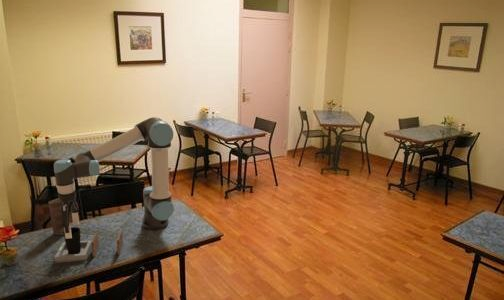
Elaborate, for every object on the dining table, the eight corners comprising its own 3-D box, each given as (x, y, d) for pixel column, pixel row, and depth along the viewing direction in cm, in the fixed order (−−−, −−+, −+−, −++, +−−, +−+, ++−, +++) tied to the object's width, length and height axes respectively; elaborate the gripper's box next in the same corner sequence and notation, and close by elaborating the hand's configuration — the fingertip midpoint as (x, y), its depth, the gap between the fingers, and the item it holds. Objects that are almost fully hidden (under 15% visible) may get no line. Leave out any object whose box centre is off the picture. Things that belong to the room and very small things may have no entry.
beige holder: (122, 244, 198) (121, 230, 195) (120, 254, 188) (118, 240, 186) (97, 246, 195) (95, 232, 193) (92, 256, 186) (91, 242, 184)
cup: (76, 257, 183) (73, 235, 180) (62, 255, 185) (59, 233, 181) (86, 249, 191) (83, 228, 187) (72, 247, 192) (70, 226, 189)
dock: (92, 245, 196) (91, 239, 195) (86, 260, 183) (85, 254, 182) (63, 247, 193) (62, 241, 192) (55, 262, 180) (54, 256, 179)
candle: (55, 237, 202) (50, 204, 196) (51, 232, 207) (46, 199, 202) (70, 233, 207) (65, 200, 201) (66, 228, 212) (61, 196, 207)
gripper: (65, 182, 189) (71, 219, 196) (49, 203, 166) (56, 245, 172) (81, 181, 191) (86, 218, 197) (67, 201, 167) (74, 243, 173)
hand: (72, 231), depth 185 cm, fingers open, 13 cm apart
